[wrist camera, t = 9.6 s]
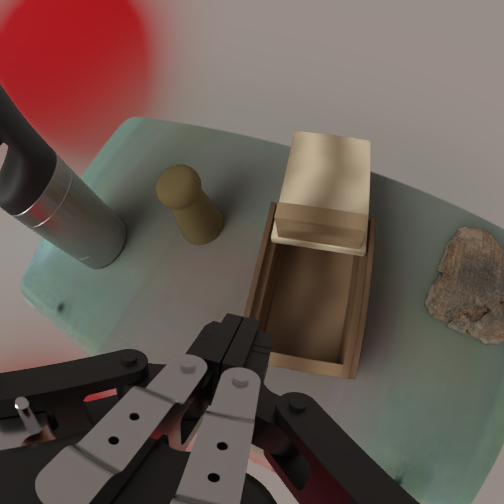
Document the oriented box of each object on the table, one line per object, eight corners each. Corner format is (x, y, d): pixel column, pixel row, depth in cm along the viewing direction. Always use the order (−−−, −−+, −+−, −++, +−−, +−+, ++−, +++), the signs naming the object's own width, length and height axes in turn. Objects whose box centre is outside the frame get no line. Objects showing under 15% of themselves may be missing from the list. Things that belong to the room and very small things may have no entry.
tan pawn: (228, 236, 40) (204, 189, 30) (186, 250, 40) (150, 209, 30) (218, 200, 43) (194, 149, 33) (178, 214, 43) (146, 168, 33)
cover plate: (271, 242, 31) (265, 218, 26) (295, 136, 36) (292, 107, 31) (363, 256, 29) (373, 234, 24) (369, 146, 34) (374, 117, 29)
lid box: (248, 360, 33) (233, 356, 26) (277, 235, 39) (271, 202, 32) (343, 378, 31) (355, 379, 24) (362, 248, 36) (375, 217, 29)
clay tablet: (541, 284, 29) (449, 222, 36) (559, 274, 25) (463, 205, 31) (518, 371, 26) (417, 312, 32) (539, 369, 22) (432, 304, 28)
